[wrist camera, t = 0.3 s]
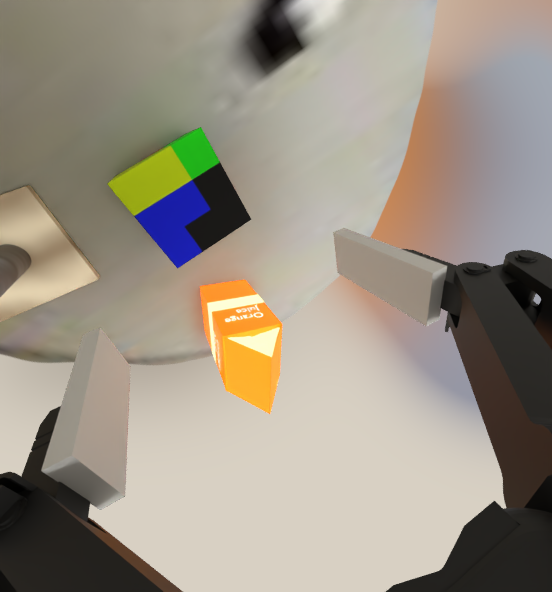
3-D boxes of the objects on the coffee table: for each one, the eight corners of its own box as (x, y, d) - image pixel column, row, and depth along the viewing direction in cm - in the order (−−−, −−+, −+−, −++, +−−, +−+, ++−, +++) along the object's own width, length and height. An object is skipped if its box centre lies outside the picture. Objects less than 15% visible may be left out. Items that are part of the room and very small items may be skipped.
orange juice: (204, 332, 46) (238, 427, 30) (198, 285, 42) (235, 366, 26) (247, 323, 49) (299, 405, 33) (246, 278, 45) (304, 348, 29)
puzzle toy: (169, 243, 38) (177, 268, 30) (115, 176, 32) (107, 183, 24) (228, 205, 39) (251, 219, 31) (185, 133, 33) (200, 127, 25)
